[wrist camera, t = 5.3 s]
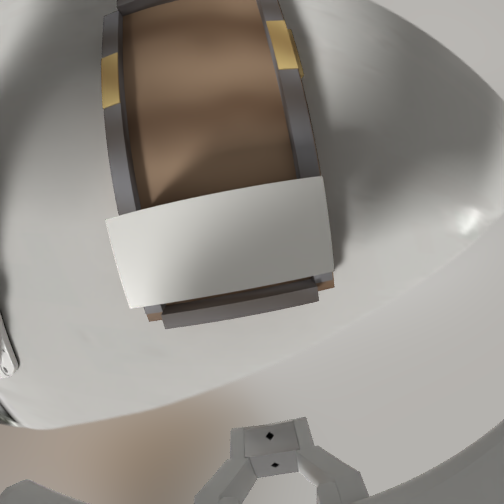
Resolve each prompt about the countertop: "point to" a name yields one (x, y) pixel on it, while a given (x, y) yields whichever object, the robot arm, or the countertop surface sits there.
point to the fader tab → (223, 242)
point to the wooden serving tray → (206, 121)
